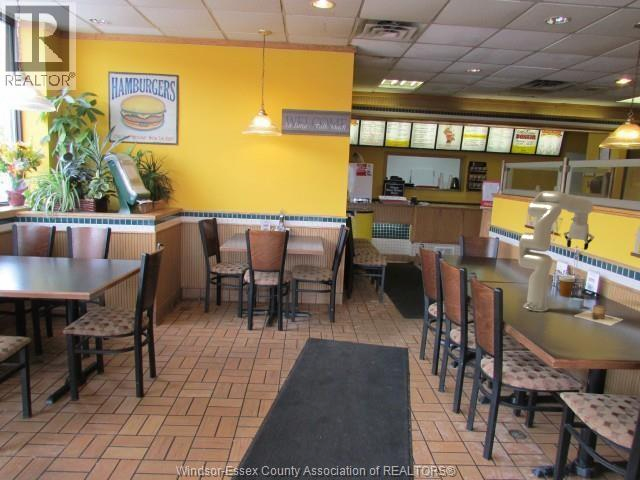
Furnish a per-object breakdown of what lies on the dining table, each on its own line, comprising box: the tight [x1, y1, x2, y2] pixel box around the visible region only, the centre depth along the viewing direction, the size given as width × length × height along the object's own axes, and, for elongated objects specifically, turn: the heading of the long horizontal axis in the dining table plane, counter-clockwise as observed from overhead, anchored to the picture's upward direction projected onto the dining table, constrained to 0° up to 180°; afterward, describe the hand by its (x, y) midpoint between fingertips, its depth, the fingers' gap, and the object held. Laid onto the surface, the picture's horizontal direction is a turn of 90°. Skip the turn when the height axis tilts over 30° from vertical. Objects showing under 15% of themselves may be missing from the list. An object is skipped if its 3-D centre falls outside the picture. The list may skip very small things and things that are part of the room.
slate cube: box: [569, 297, 585, 309], centre depth 260 cm, size 5×5×5 cm
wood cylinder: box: [592, 304, 607, 319], centre depth 240 cm, size 6×6×6 cm
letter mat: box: [573, 310, 624, 326], centre depth 241 cm, size 18×18×1 cm
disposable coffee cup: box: [558, 275, 576, 298], centre depth 286 cm, size 10×10×12 cm
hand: (577, 248), depth 278 cm, fingers open, 9 cm apart
